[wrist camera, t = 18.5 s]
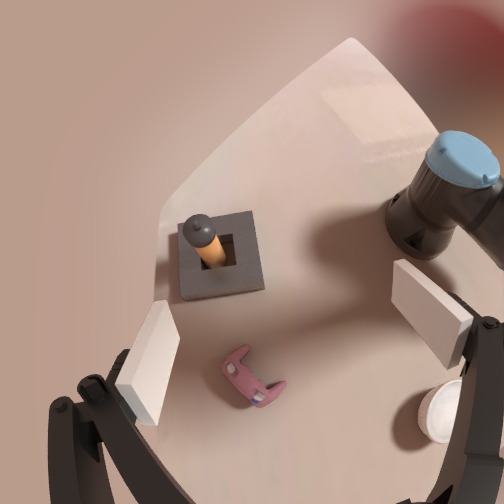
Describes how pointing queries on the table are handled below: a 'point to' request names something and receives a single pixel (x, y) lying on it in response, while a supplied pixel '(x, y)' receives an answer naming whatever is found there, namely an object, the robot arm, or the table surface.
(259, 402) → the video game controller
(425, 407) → the ramekin
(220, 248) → the orange lidded canister
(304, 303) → the table surface
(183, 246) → the grey square socket block
